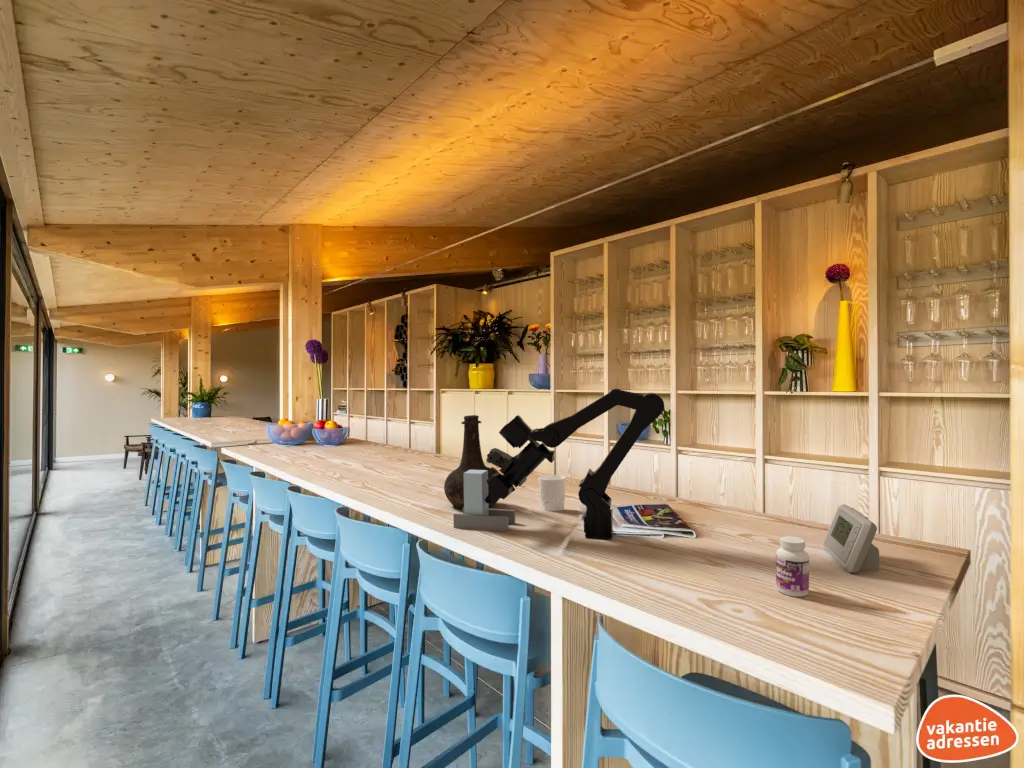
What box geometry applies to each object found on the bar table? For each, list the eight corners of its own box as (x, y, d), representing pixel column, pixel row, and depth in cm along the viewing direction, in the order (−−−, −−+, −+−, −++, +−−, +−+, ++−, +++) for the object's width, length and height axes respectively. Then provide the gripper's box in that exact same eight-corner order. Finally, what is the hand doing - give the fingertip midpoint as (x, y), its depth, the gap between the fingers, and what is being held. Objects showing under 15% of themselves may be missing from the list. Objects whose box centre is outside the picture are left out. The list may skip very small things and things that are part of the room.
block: (488, 522, 143) (487, 470, 143) (482, 527, 138) (481, 473, 138) (471, 521, 144) (470, 469, 144) (464, 526, 139) (463, 473, 139)
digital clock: (822, 547, 122) (822, 501, 121) (869, 553, 118) (869, 505, 117) (829, 572, 107) (829, 519, 107) (883, 579, 103) (883, 524, 103)
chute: (515, 526, 142) (515, 510, 142) (507, 534, 135) (507, 517, 135) (464, 522, 146) (464, 507, 146) (453, 530, 139) (453, 514, 139)
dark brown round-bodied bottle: (502, 515, 153) (500, 417, 153) (440, 515, 154) (438, 418, 153) (504, 500, 171) (503, 412, 171) (449, 500, 172) (447, 413, 171)
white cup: (566, 507, 160) (565, 474, 160) (566, 515, 153) (565, 480, 152) (539, 507, 161) (539, 474, 161) (538, 514, 153) (537, 479, 153)
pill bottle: (771, 591, 98) (771, 539, 98) (781, 583, 102) (781, 533, 102) (803, 600, 94) (803, 546, 94) (813, 591, 98) (813, 539, 98)
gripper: (514, 434, 147) (477, 472, 151) (494, 443, 129) (452, 486, 133) (543, 463, 145) (504, 502, 149) (526, 477, 127) (482, 520, 131)
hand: (486, 501), depth 140 cm, fingers closed, pressing on block
